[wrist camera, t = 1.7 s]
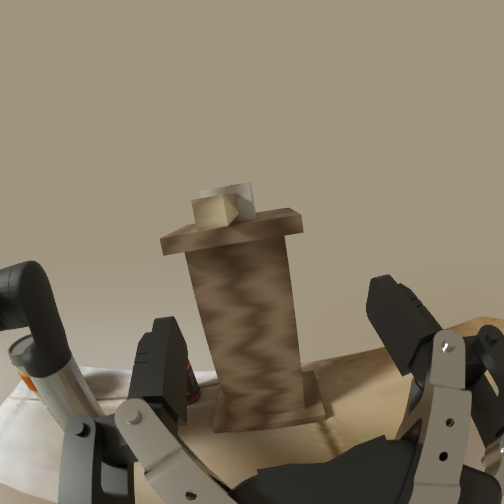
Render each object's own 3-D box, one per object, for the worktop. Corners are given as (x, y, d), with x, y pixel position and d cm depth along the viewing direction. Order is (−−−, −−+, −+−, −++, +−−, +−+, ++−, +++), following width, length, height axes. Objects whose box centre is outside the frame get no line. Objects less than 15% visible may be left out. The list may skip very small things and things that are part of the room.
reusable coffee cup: (59, 413, 39) (26, 357, 36) (28, 405, 39) (-1, 354, 36) (81, 383, 51) (56, 330, 48) (50, 379, 51) (26, 331, 48)
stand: (214, 432, 37) (152, 240, 30) (222, 388, 48) (180, 226, 42) (325, 419, 36) (309, 212, 29) (313, 376, 47) (295, 206, 40)
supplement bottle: (196, 383, 51) (181, 339, 48) (205, 400, 45) (188, 353, 43) (170, 392, 48) (152, 347, 46) (176, 409, 43) (155, 363, 41)
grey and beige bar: (177, 247, 21) (166, 192, 20) (215, 220, 39) (209, 191, 38) (254, 234, 20) (244, 176, 19) (255, 213, 39) (250, 183, 38)
